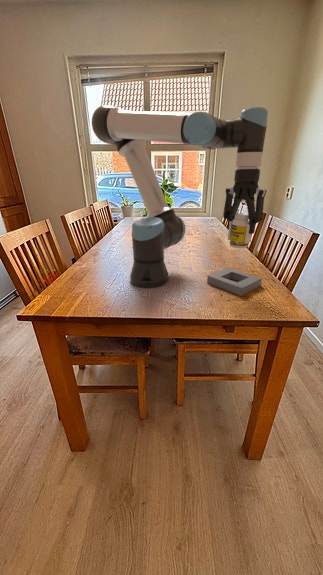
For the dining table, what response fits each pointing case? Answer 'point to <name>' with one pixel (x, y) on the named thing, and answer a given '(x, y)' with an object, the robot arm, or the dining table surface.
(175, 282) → the dining table surface
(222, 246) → the dining table surface
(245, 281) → the bottle holder
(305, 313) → the dining table surface
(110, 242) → the dining table surface
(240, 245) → the pill bottle
